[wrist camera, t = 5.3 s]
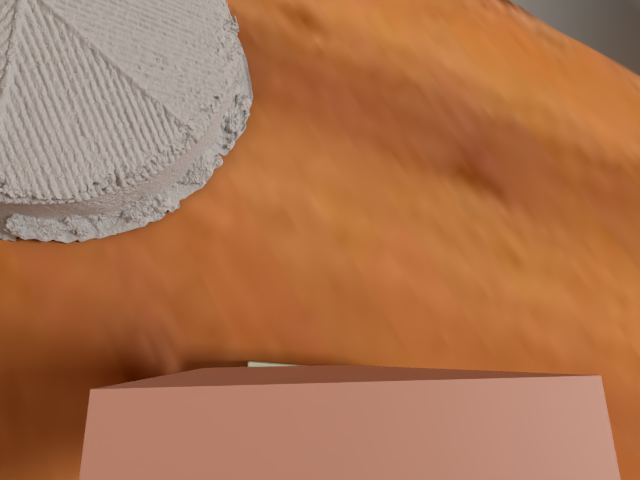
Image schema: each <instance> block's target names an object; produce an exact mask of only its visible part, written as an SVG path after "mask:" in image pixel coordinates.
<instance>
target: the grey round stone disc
mask: <svg viewBox="0 0 640 480" xmlns="http://www.w3.org/2000/svg"><path fill="white" fill-rule="evenodd" d="M227 5H228V3H226V0H0V239H2V240H8V239H9V240H11V241H16V239H17V237H20V238H21V239H23V240H26V239H38V240H40V241H45V242H47V241H51V240H56V241H61V242H64V243H70V242H72V241H76V240H79V241H80V242H83V241H85V240H88V239H93V238H98V239H101V238H104V237H108V236H110V235H116V234H118V233H121V232H126V231H129V230H133V229H136V228H139V227H144V226H146V225H147V223H148V222H154V221H157V220H160V219H162V218H163V217H164V216H165V215H166V214H167V213H166V211H167V210H169V211H170V212H173V211H174V210H175V209H178V208H179V207H180V203H179V201H180V200H181V199H185V198H186V197H187V196H189V195H190V194H192V193H194V191H197V190H198V189H201V188H203V187H204V185H205V184H206V183H207V182H208V180H209V179H210V177H211V176H212V174H213V171H214V169H215V168H219V167H220V166H221V165H222V164H223V160H222V158H221V156H220V155H219V154H218V153H220V154H222V155H224V156H226V155H227V154H228V153H229V151H230V150H231V149H232V148H233V147H234V144H235V141H236V140H237V139H238V137H240V136H241V135H242V133H243V131H244V130H245V129H246V121H247V120H248V117H249V116H250V113H249V108H250V107H251V104H252V99H253V93H252V90H251V87H252V84H251V80H250V74H249V71H248V63H247V59H246V56H245V54H244V51H243V48H242V45H241V43H240V41H239V38H237V35H238V34H237V31H238V32H239V28H238V24H237V19H236V16H235V14H234V18H233V19H232V16H231V14H230V12H231V11H230V10H229V9H228V6H227ZM229 11H230V12H229ZM230 19H231V20H230ZM233 21H234V22H233ZM231 23H232V24H233V25H232V24H231Z"/></svg>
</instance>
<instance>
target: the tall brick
mask: <svg viewBox="0 0 640 480" xmlns="http://www.w3.org/2000/svg"><path fill="white" fill-rule="evenodd" d="M79 480H621V479H620V474H619V469H618V463H617V458H616V453H615V448H614V442H613V437H612V432H611V426H610V421H609V416H608V411H607V405H606V400H605V395H604V390H603V384H602V379H601V375H577V374H553V373H528V372H503V371H479V370H454V369H429V368H405V367H380V366H355V365H316V366H266V367H215V368H201V369H196V370H190V371H185V372H180V373H174V374H169V375H164V376H158V377H153V378H148V379H142V380H137V381H132V382H126V383H121V384H116V385H111V386H105V387H100V388H95V389H90V396H89V404H88V412H87V420H86V427H85V435H84V443H83V451H82V459H81V467H80V475H79Z"/></svg>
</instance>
